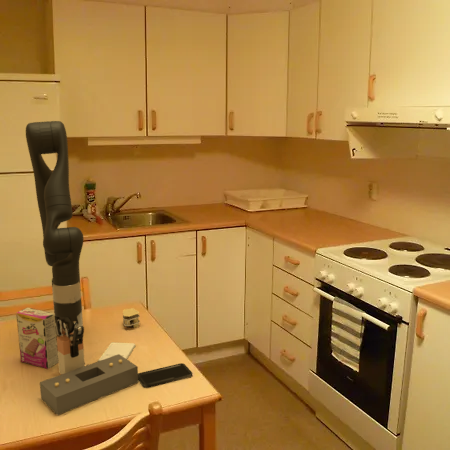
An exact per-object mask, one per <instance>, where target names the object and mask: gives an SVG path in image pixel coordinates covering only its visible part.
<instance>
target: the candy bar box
mask: <svg viewBox="0 0 450 450" xmlns="http://www.w3.org/2000/svg"><path fill="white" fill-rule="evenodd" d="M15 314H16V322H17V334H18V335H17V336H18V345H19V357H20V362H21V363H24V364H28V365H32V366H34V367H38V368H42V369H46V370H49V369H52V367H54V366H56V365H57V364H59V362H58V348H57V337H58V335H56V322H55V314H54V312H49V311H45V310H41V309H40V310H39V309H36V308H31V307H26V308H23V309H21V310H18V311H17V312H16V313H15Z"/></svg>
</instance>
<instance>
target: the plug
mask: <svg viewBox="0 0 450 450" xmlns="http://www.w3.org/2000/svg"><path fill="white" fill-rule="evenodd" d="M73 333H74V332H73ZM73 333H71V334H73ZM72 341H73V337H72ZM57 349H58V362H59V363H58V372H59V375H61V374H64V373H67V372H70V371H73V370H76V369H78V368H81V367H84V366H86V365H85V352H84V351H85V349H84V341H83V342H82V344H79V345H78V350H79V355H78V356H77V357H74V358H72V357H71V355H70V343H69V338H67V336H66V335H64V336H57Z"/></svg>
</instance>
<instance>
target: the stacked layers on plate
mask: <svg viewBox="0 0 450 450" xmlns="http://www.w3.org/2000/svg"><path fill="white" fill-rule="evenodd" d="M122 317H123V318H122V320H123V321H122V323H123V325H124V327H127V328H128V327H132V326H133V328H134V329H135V328H139V327H140V323H141V321H140V319H139V318H140V311H139V310H137V309H135V308H134V307H131V308H125V309H122Z"/></svg>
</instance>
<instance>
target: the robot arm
mask: <svg viewBox="0 0 450 450" xmlns="http://www.w3.org/2000/svg"><path fill="white" fill-rule="evenodd" d="M25 139H26V144H27V150H28V153H29V157H30V161H31V167H32V171H33V177H34V185H35V193H36V200H37V201H36V202H37V207H38V212H39V216H40V221H41V222H40V223H41V228H42V229H41V230H42V237H43V239H42V240H43V241H42V246H43V249H44V250H43V251H44V258H45V262H46V264H47V265H48V267H51V271H52V272H51V274H52V278H51V287H52V289H51V291H52V301H53V302H52V303H53V313H54V314H55V322H56V335H57V337H60V336H64V335H66V336H67V338H69V343H70V355H71V357H72V358H74V357H77V356H78V355H79V350H78V345H79V344H82V342H83V343H84V333H85V327H84V325H83V323H84V322H83V318H84V317H83V304H82V290H81V287H82V286H81V276H80V275H81V274H80V258H81V253H82V250H83V245H84V233H83V232H82V230H81V229H80V228H79V227H76V226H70V227H59V226H60V225H61V224H62V223H65V222H67V221H70V220H71V219H72V218H73V215H74V212H73V206H72V198H71V191H70V174H69V173H70V169H69V168H70V165H69V164H70V163H69V147H68V134H67V130H66V127H65V125H64V123H63V121H60V120H50V121H47V120H46V121H35V122H34V121H33V122H29V123H28V124H26V127H25ZM46 154H48V155H50V154H56V155H57V156H56V163H55V166H54V168H53V170H51V168H50V167H49V166H48V164H47V163H46V161H45V160H44V158H43V155H46ZM73 332H74V333H73ZM71 333H73V334H71ZM72 337H73V341H72Z"/></svg>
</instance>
